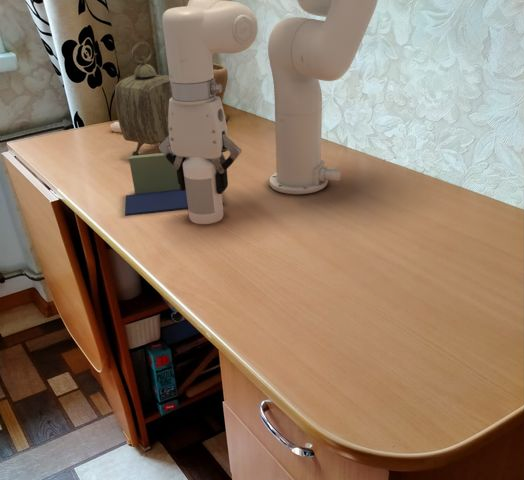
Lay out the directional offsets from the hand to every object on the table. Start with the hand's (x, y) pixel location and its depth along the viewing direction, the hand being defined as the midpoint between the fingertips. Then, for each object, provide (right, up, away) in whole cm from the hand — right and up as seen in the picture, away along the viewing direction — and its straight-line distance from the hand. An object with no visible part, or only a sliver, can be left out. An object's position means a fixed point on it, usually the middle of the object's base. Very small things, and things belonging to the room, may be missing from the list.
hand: (203, 188), depth 110 cm
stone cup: (-5, +36, +57) cm, 68 cm away
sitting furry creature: (-25, +31, +52) cm, 65 cm away
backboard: (-8, +4, +16) cm, 18 cm away
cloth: (-7, 0, +11) cm, 13 cm away
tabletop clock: (-15, +19, +35) cm, 43 cm away
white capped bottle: (0, -5, +4) cm, 6 cm away
